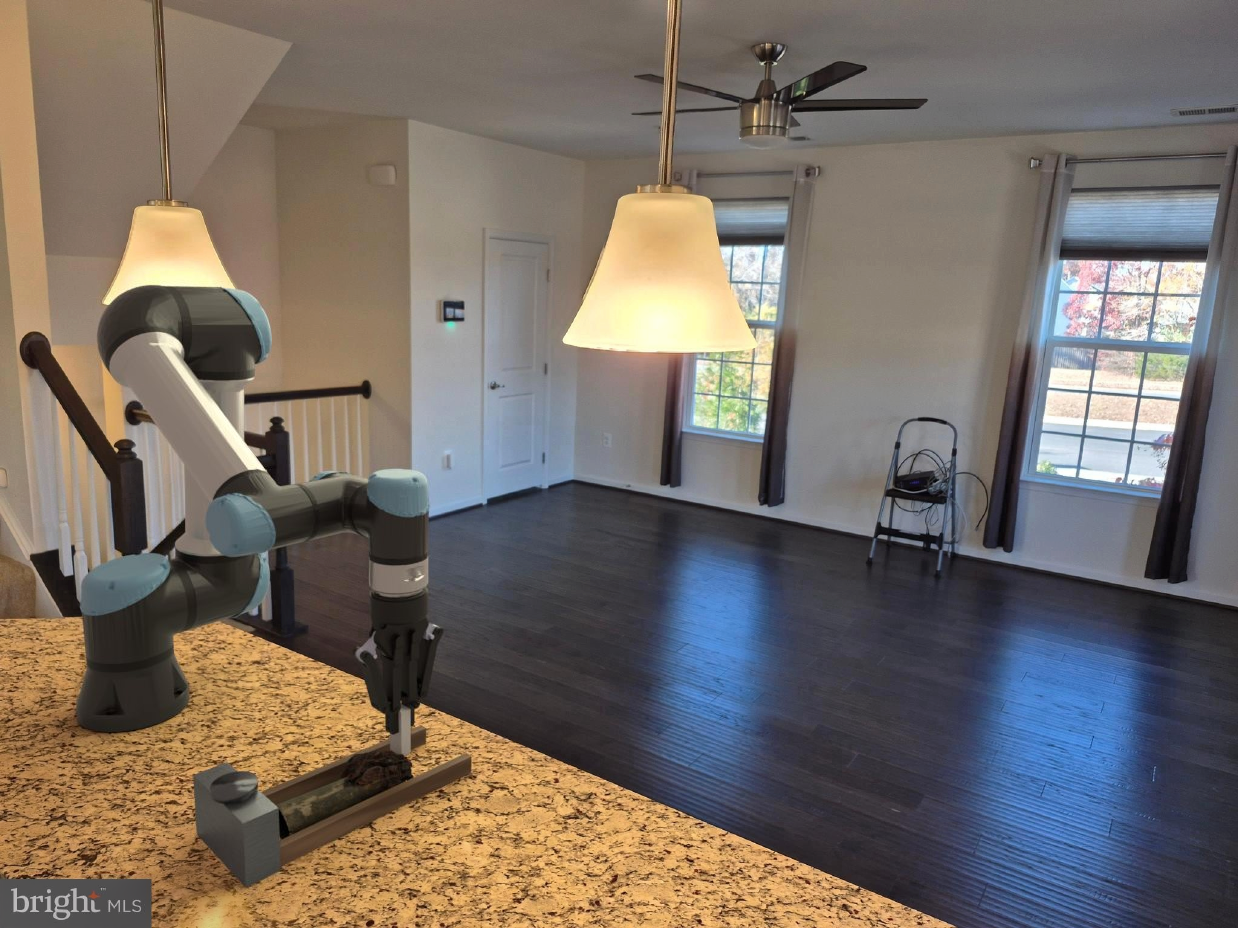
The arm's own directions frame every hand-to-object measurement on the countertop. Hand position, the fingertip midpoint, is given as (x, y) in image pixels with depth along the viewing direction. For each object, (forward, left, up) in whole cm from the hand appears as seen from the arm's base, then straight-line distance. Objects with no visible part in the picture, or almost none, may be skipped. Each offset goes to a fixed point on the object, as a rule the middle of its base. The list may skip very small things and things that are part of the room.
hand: (400, 750), depth 114 cm
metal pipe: (+1, -9, -4) cm, 10 cm away
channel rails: (0, -7, -4) cm, 8 cm away
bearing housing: (0, -23, -4) cm, 23 cm away
